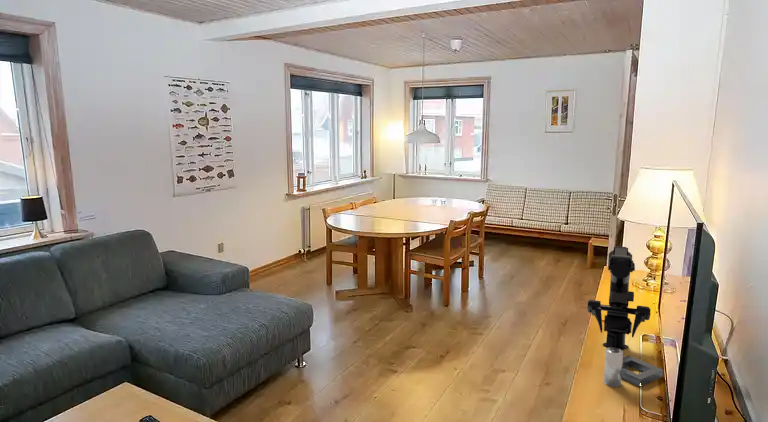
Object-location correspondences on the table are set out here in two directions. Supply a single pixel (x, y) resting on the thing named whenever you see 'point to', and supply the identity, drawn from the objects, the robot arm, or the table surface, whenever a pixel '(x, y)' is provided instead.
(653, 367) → the jig
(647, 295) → the table surface
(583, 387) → the table surface
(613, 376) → the ring
